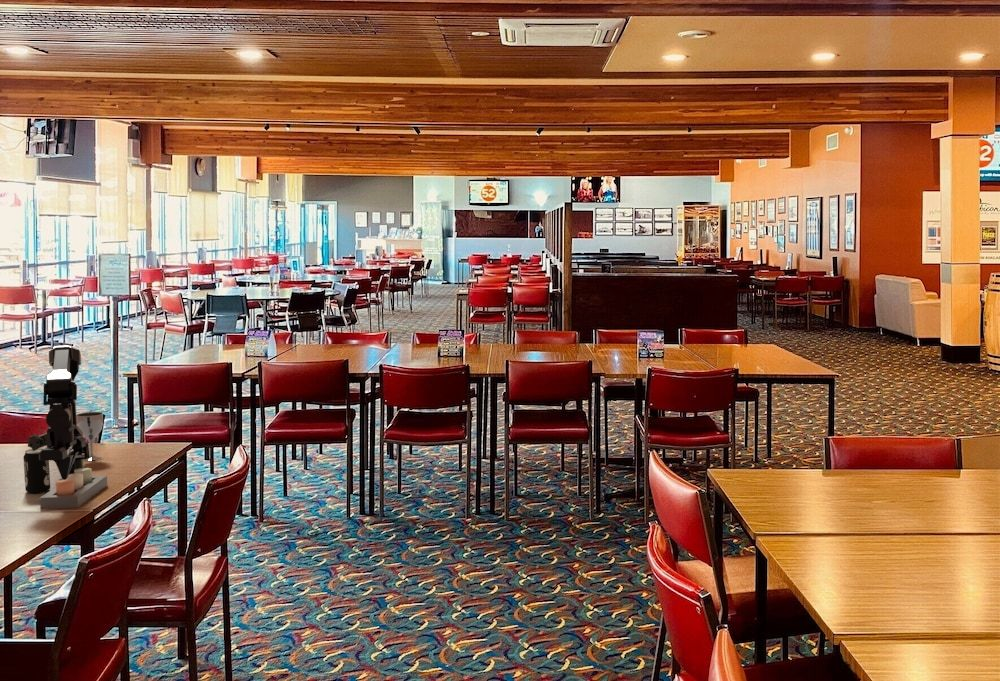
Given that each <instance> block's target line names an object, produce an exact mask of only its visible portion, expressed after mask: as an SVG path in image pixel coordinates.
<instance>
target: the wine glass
mask: <svg viewBox="0 0 1000 681" xmlns="http://www.w3.org/2000/svg"><path fill="white" fill-rule="evenodd" d="M76 414H77V426H78V427H79V428H80V429H81V431H82V432H83V437H84V438H85V439H86V441H87V443H88V444H89V455H90V458H87V459H83V462H93V461H92V460H98V461H100V460H99V459H101V458H102V457H103V456H97V455H94V448H93V447H94V441H95V440H96V438H97V436H98V435H99V433H101V431H102V428H103V423H104V415H103V412H101V411H87V412H86V411H85V412H79V413H76ZM101 460H102V459H101Z"/></svg>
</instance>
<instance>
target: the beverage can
mask: <svg viewBox="0 0 1000 681" xmlns="http://www.w3.org/2000/svg"><path fill="white" fill-rule="evenodd" d="M43 449H44V448H42V447H41V448H38V449H37V450H35V451H32V448H30V449H27V450H24V455H23V458H22V459H23V470H24V472H23V473H24V484H25V485H24V487H25V490H24V491H25V492H27V493H28V494H30V493H31V494H32V495H33V494H34V495H37V494H38V493H39V494H44V493H48V492H49V491H50V489H51V473H50V460H43V461H40V460H39V453H40V451H41V450H43ZM43 492H44V493H43ZM31 494H30V495H31Z"/></svg>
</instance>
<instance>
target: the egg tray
mask: <svg viewBox="0 0 1000 681" xmlns="http://www.w3.org/2000/svg"><path fill="white" fill-rule="evenodd" d="M83 485H84V487H82V488H78V489H74V491H75V493H74V494H72V495H56V486H55V487H54V488H52V489H51V490H48V491H47V492H45V494H43V495H42V496H40V497H39V508H40V509H72V508H73V509H75V508H76V509H79V508H80V507H81V506H82V505H84V504H85V503H87V502H88V501H89V500H90V499H92V498H93V497H94V496H96V495H97V494H99V493H100V492H101V491H102V490H104V489H105V488H106V487H107V486H108V475H92V481H91V482H83ZM105 486H106V487H105ZM104 487H105V488H104ZM103 488H104V489H103ZM101 489H102V490H101ZM100 490H101V491H100ZM99 491H100V492H99ZM96 493H97V494H96ZM95 494H96V495H95ZM93 495H94V496H93ZM92 496H93V497H92ZM91 497H92V498H91ZM89 498H90V499H89ZM88 499H89V500H88ZM87 500H88V501H87ZM83 503H84V504H83Z"/></svg>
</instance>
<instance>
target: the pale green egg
mask: <svg viewBox="0 0 1000 681" xmlns="http://www.w3.org/2000/svg"><path fill="white" fill-rule="evenodd" d="M92 470H93V469H92V468H90V467H83V468H79V469H75V470H74V474H83V482H91V481H92V476H93V473H92Z"/></svg>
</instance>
